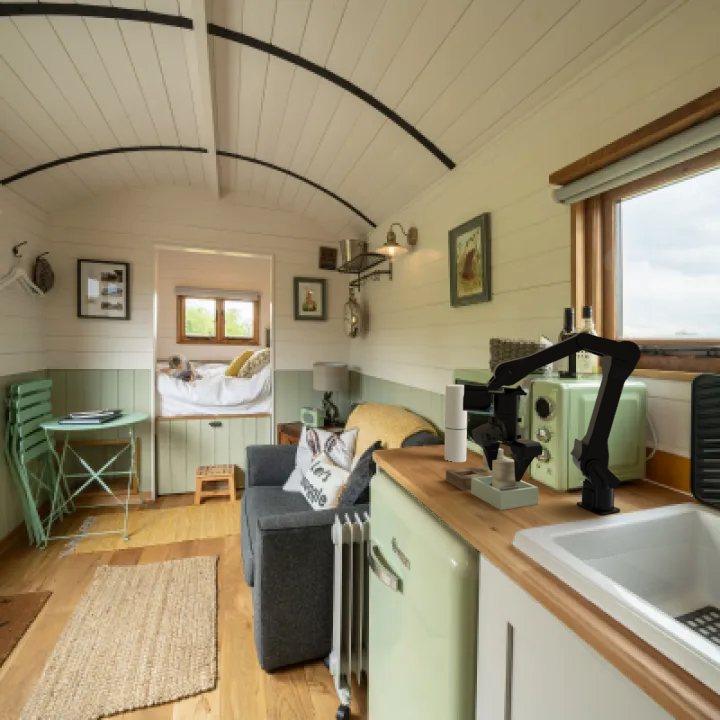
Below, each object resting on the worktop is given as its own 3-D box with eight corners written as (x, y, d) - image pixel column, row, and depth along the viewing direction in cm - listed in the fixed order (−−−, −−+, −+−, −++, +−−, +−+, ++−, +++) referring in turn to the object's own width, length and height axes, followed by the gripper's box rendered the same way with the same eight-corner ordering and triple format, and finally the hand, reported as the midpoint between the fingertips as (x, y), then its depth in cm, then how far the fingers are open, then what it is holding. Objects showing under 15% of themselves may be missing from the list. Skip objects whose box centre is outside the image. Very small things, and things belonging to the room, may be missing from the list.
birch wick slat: (508, 494, 98) (509, 458, 98) (515, 497, 96) (516, 461, 96) (491, 496, 97) (492, 460, 96) (498, 500, 94) (499, 463, 94)
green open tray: (505, 488, 103) (506, 473, 103) (538, 504, 93) (538, 487, 93) (471, 493, 99) (471, 477, 99) (500, 510, 89) (501, 492, 89)
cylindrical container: (464, 456, 134) (465, 384, 134) (467, 462, 127) (469, 386, 127) (443, 456, 135) (444, 384, 135) (445, 461, 128) (447, 386, 127)
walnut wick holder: (494, 475, 115) (494, 464, 115) (513, 483, 107) (513, 472, 107) (445, 480, 109) (445, 470, 109) (462, 490, 101) (462, 479, 101)
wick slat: (496, 478, 112) (497, 447, 112) (502, 481, 109) (503, 449, 109) (482, 480, 110) (483, 448, 110) (488, 483, 108) (488, 450, 107)
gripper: (455, 408, 102) (454, 468, 102) (505, 420, 84) (504, 492, 85) (490, 407, 106) (489, 464, 106) (545, 418, 88) (543, 486, 88)
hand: (504, 475), depth 96 cm, fingers open, 9 cm apart
